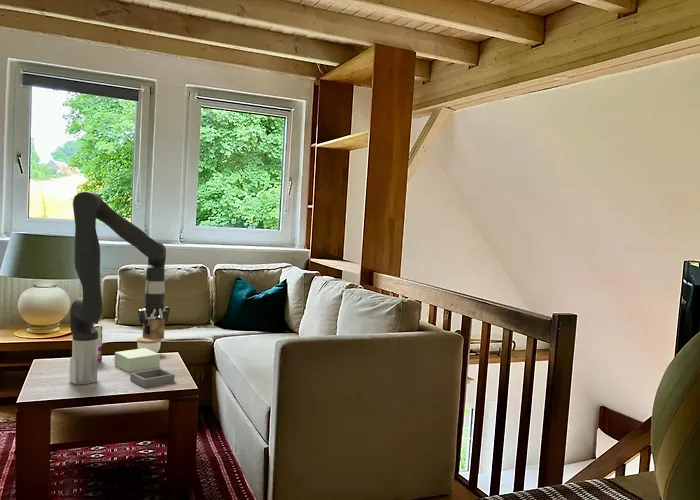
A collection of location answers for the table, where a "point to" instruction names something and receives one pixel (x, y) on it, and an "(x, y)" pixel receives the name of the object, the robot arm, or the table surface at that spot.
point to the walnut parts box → (155, 329)
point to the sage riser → (137, 360)
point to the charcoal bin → (162, 379)
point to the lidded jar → (149, 344)
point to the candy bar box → (99, 340)
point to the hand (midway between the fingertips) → (153, 333)
